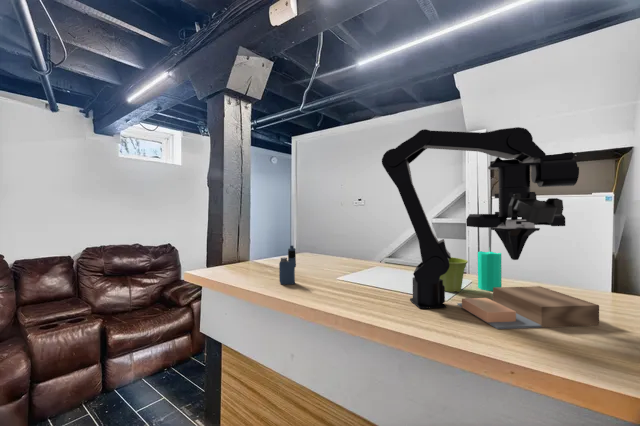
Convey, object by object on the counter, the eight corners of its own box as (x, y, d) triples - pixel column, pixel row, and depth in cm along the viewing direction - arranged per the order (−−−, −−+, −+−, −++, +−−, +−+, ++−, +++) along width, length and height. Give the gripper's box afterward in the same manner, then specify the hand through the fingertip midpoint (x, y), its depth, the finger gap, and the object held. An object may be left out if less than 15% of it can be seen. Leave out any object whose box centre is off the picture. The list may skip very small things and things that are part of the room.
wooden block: (541, 327, 55) (541, 306, 55) (493, 303, 69) (493, 287, 69) (599, 325, 56) (599, 305, 56) (539, 302, 70) (539, 286, 70)
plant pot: (469, 288, 83) (469, 258, 83) (466, 296, 75) (466, 263, 75) (435, 283, 88) (435, 256, 88) (429, 291, 80) (429, 260, 80)
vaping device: (295, 284, 89) (295, 246, 88) (278, 284, 89) (278, 246, 89) (296, 282, 91) (296, 245, 91) (280, 282, 91) (279, 245, 91)
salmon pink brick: (515, 311, 57) (515, 321, 57) (486, 297, 66) (486, 306, 66) (487, 312, 57) (487, 322, 57) (461, 298, 66) (461, 307, 66)
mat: (497, 328, 55) (497, 326, 55) (457, 304, 69) (457, 303, 69) (541, 327, 55) (541, 325, 55) (493, 303, 69) (493, 302, 69)
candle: (505, 291, 79) (505, 248, 79) (481, 290, 80) (481, 248, 80) (496, 286, 85) (496, 246, 85) (474, 285, 86) (474, 245, 86)
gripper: (498, 185, 53) (499, 268, 53) (591, 184, 55) (592, 265, 55) (464, 189, 64) (465, 258, 65) (542, 188, 66) (543, 256, 66)
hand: (514, 259), depth 62 cm, fingers closed
